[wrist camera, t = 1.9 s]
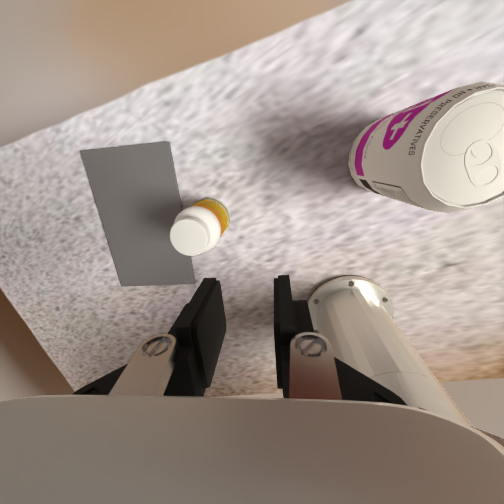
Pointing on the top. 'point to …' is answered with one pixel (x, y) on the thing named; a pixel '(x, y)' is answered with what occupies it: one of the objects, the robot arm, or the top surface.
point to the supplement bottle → (199, 227)
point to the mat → (139, 212)
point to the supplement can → (437, 151)
